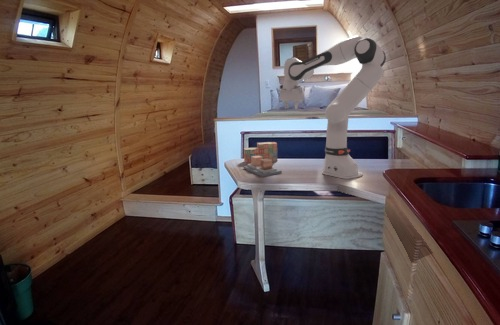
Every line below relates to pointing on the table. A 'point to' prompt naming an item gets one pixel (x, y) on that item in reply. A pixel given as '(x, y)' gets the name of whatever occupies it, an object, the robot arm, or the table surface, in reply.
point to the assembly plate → (255, 167)
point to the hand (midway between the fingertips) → (291, 108)
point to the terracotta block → (265, 164)
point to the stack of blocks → (262, 151)
